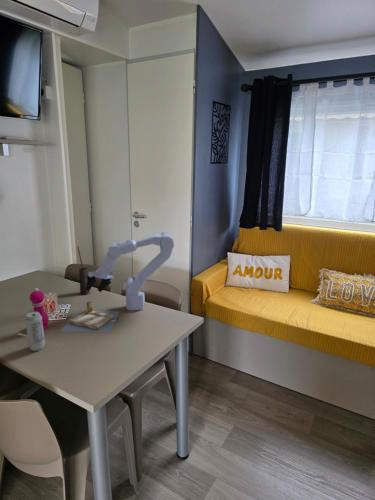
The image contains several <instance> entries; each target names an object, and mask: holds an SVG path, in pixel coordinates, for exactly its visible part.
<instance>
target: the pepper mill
mask: <svg viewBox="0 0 375 500" xmlns="http://www.w3.org/2000/svg"><path fill="white" fill-rule="evenodd" d="M45 296H46V295H45V293H44V292H43V291H42V290H39V288H38V287H35V288H34V289H33V291H32V292H31V293H30V294H29V300H30V302H31V306H32V309H33V312H39V313H40V315H41V316H42V323H43V330H44V331H46V330H47V329H48V328H49V321H50V318H49V315H48V314H47V312H46V311H45V309H44V304H45V300H44V299H45Z"/></svg>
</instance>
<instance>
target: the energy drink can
mask: <svg viewBox="0 0 375 500" xmlns="http://www.w3.org/2000/svg"><path fill="white" fill-rule="evenodd" d="M25 316H26V317H25V319H24V320H25V327H26V337H27V343H28V348H29V350H30V351H32V352H39V351H41V350H43V349H44V348H45V345H46V339H45V333H44V332H45V330H43V323H42V316H41V315H40V313H39V312H34V311H31V312H28V313H27V314H26V315H25Z"/></svg>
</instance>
